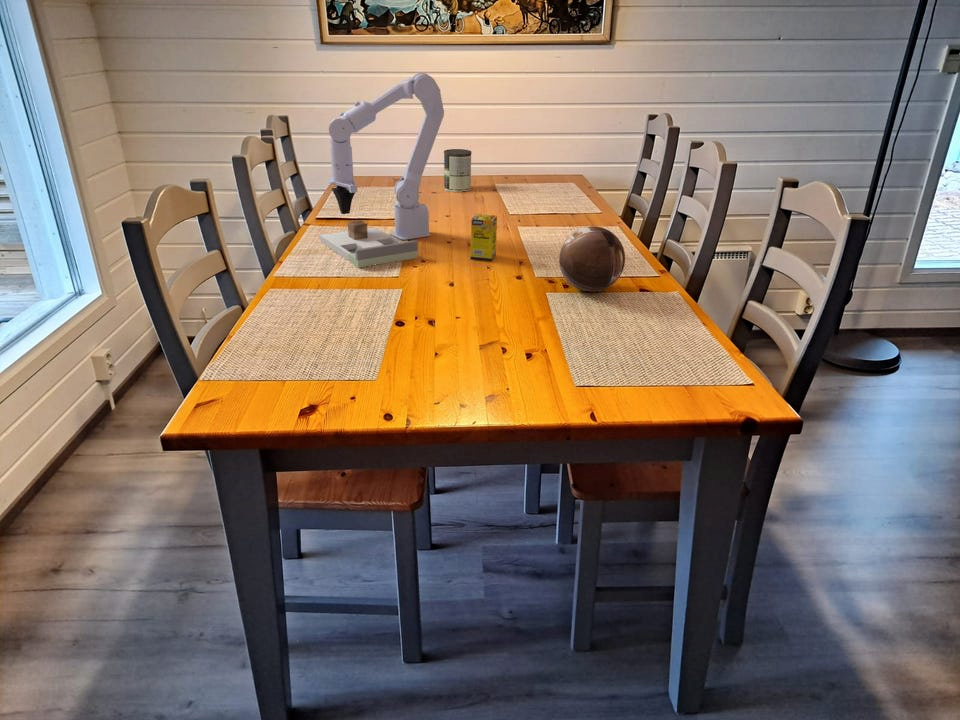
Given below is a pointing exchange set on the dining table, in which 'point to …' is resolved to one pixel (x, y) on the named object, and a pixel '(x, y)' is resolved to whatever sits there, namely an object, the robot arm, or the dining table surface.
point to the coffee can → (457, 170)
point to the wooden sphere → (592, 259)
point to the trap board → (370, 248)
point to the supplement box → (483, 237)
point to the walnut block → (357, 230)
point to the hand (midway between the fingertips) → (345, 213)
